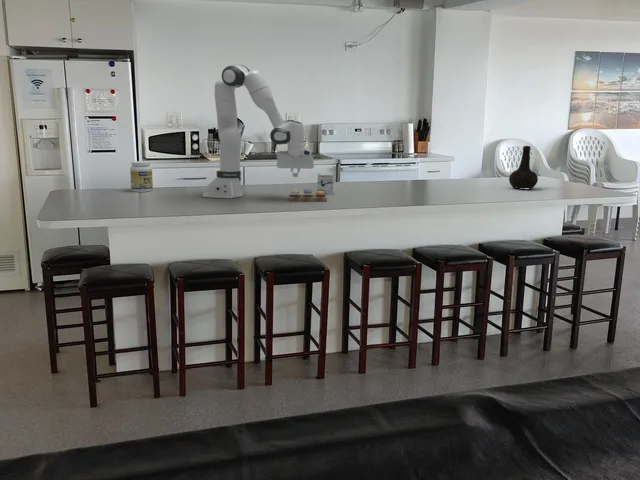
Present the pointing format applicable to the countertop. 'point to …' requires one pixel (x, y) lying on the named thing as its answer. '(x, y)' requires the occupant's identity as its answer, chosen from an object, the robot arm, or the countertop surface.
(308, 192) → the slate button
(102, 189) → the countertop surface
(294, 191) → the cream button
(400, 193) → the countertop surface
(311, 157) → the robot arm
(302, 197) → the button panel
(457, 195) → the countertop surface
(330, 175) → the ink box
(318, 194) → the terracotta button
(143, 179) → the supplement tub
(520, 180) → the glass bottle
